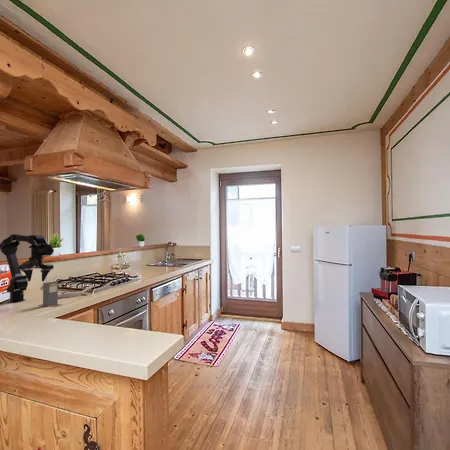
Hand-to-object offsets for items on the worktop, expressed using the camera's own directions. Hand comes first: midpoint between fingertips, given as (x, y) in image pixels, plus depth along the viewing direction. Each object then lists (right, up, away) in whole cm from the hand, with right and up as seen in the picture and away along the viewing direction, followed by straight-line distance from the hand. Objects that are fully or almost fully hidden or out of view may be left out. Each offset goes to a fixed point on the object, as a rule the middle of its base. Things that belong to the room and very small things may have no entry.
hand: (36, 281), depth 163 cm
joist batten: (+13, -12, -7) cm, 20 cm away
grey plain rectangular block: (+13, -12, -7) cm, 20 cm away
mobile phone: (+12, -14, +18) cm, 26 cm away
